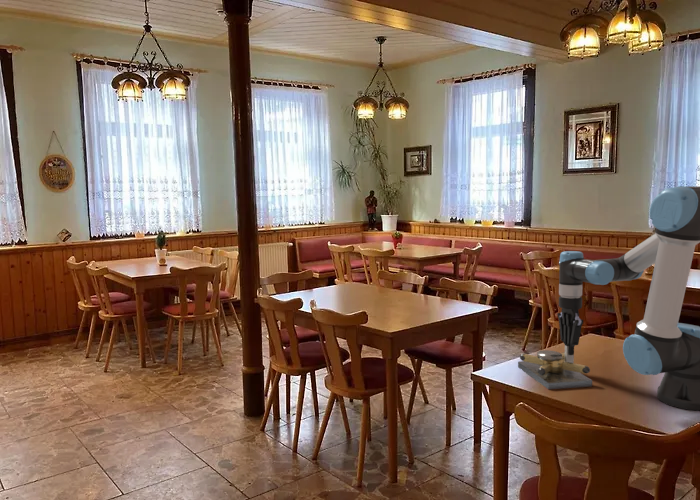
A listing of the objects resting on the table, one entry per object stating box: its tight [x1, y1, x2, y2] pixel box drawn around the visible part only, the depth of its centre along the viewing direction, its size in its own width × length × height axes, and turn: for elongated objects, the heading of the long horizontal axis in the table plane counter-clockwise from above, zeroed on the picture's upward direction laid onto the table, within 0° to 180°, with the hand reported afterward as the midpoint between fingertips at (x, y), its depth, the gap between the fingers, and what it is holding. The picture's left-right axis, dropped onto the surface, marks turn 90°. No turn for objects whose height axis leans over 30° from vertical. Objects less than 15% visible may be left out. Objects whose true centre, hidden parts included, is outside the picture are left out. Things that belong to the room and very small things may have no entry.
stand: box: [517, 360, 593, 390], centre depth 194 cm, size 22×15×3 cm
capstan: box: [519, 349, 591, 375], centre depth 194 cm, size 24×24×5 cm
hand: (568, 363), depth 199 cm, fingers closed
